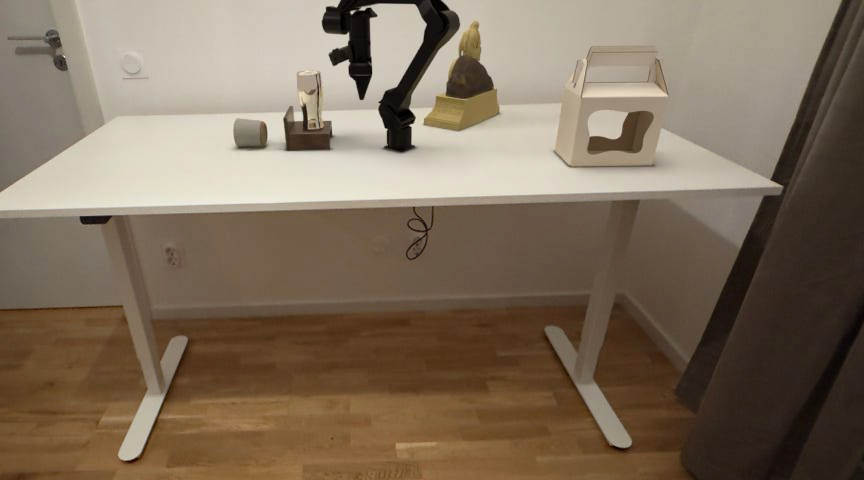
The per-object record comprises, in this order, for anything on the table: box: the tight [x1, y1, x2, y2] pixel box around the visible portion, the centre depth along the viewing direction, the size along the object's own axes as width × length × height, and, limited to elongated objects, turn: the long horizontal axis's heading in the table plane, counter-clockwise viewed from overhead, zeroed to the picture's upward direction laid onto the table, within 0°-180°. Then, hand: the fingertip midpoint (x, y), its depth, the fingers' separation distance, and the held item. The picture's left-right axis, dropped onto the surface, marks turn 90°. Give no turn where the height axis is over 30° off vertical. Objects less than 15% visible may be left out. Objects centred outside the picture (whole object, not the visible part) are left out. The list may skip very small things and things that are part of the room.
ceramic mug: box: [232, 118, 269, 148], centre depth 152 cm, size 11×8×8 cm
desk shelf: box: [282, 105, 333, 151], centre depth 153 cm, size 12×14×9 cm
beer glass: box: [296, 70, 324, 130], centre depth 148 cm, size 7×7×15 cm
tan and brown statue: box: [423, 20, 501, 132], centre depth 172 cm, size 28×13×30 cm, turn 144°
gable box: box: [554, 45, 670, 168], centre depth 136 cm, size 22×13×28 cm, turn 93°
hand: (361, 96), depth 149 cm, fingers open, 9 cm apart
